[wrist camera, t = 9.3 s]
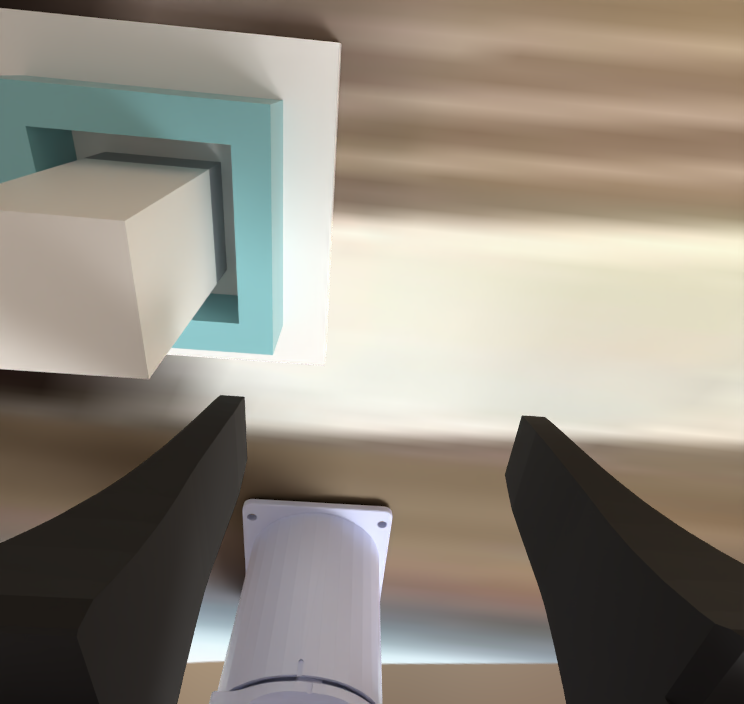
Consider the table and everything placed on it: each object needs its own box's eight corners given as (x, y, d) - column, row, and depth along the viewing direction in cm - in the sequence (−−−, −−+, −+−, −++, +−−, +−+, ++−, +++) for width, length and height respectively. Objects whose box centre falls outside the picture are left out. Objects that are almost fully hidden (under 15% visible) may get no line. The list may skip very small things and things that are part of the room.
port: (326, 354, 23) (319, 398, 20) (53, 334, 22) (2, 377, 19) (341, 44, 17) (335, 37, 14) (-29, 6, 16) (-121, -10, 13)
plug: (226, 269, 20) (149, 378, 13) (122, 261, 19) (-16, 368, 12) (220, 162, 18) (125, 220, 11) (105, 151, 17) (-70, 204, 10)
